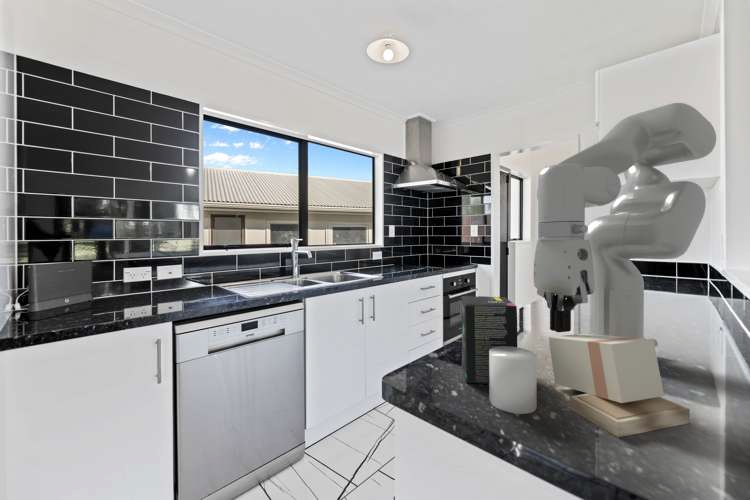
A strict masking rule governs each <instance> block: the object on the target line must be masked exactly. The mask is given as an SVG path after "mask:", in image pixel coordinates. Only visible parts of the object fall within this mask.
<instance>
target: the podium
mask: <svg viewBox="0 0 750 500" xmlns="http://www.w3.org/2000/svg"><path fill="white" fill-rule="evenodd" d="M569 410H570V411H572V412H574V413H575V414H577V415H579V416H580V417H583V418H584V419H585V420H587V421H589V422H590V423H592V424H594V425H596V426H598V428H601V429H602V430H603V431H606V432H607V433H609V434H611V435H612V436H614V437H615V438H622V437H629V436H633V435H639V434H642V433H647V432H652V431H657V430H661V429H667V428H671V427H672V428H673V427H677V426H682V425H687V424H690V421H691V420H690V415H691V414H690V412H691V410H690V408H688V407H687V406H686V407H685V406H684V405H681V404H679V403H676V402H673V401H671V400H668V399H666V398H664V397H663V396H661V397H655V398H649V399H643V400H637V401H631V402H625V403H620V402H616V401H613V400H609V399H605V398H602V397H598V396H595V395H592V394H589V393H584V394H583V393H582V394H577V395H576V394H575V395H572V396H569Z"/></svg>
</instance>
